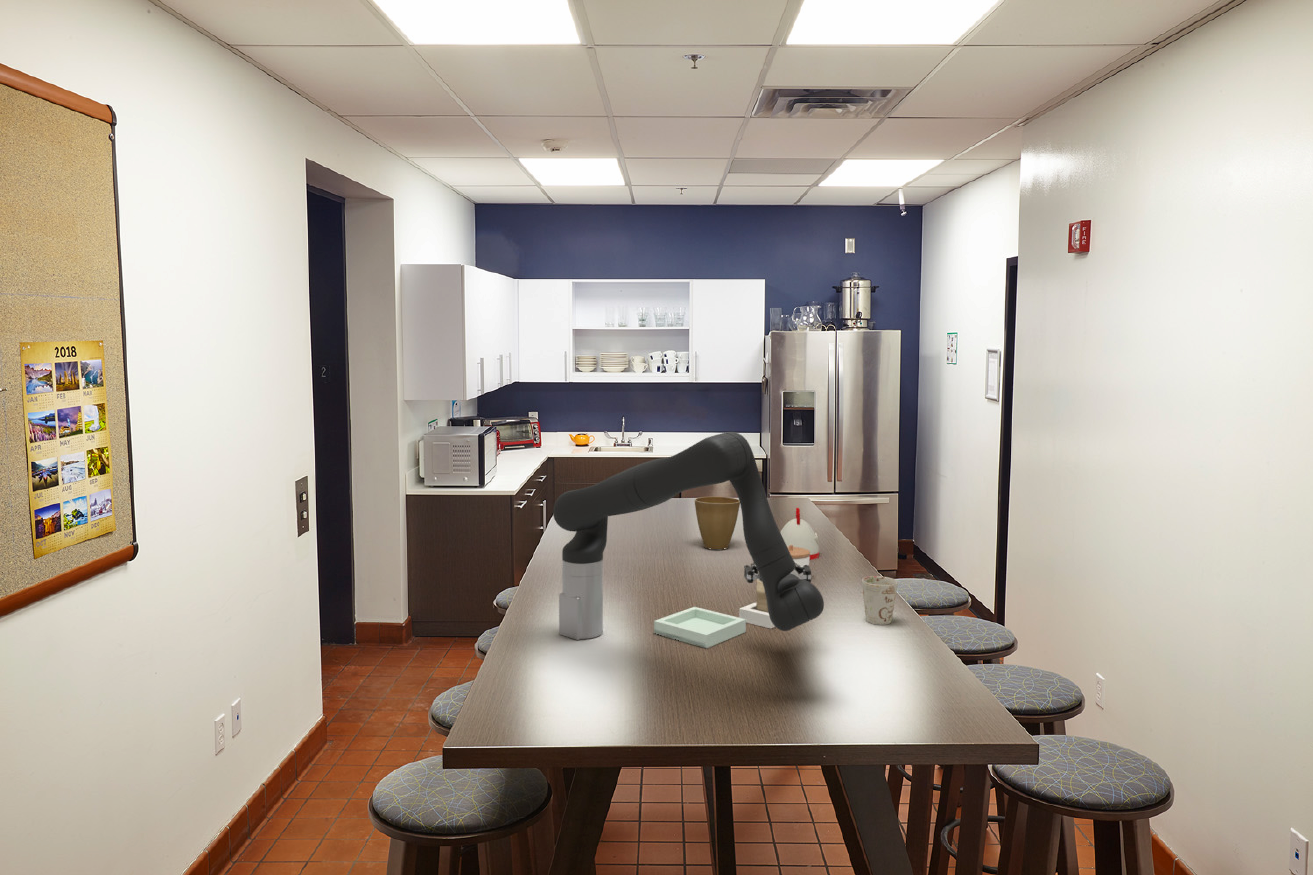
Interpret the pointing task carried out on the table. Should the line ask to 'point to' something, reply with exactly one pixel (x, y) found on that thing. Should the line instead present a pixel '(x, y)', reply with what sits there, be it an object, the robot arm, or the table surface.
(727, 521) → the plant pot
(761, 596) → the dowel
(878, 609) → the mug
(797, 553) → the lidded jar
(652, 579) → the table surface
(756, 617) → the holder block
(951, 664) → the table surface
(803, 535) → the chicken shaped dome
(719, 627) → the tray
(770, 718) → the table surface
